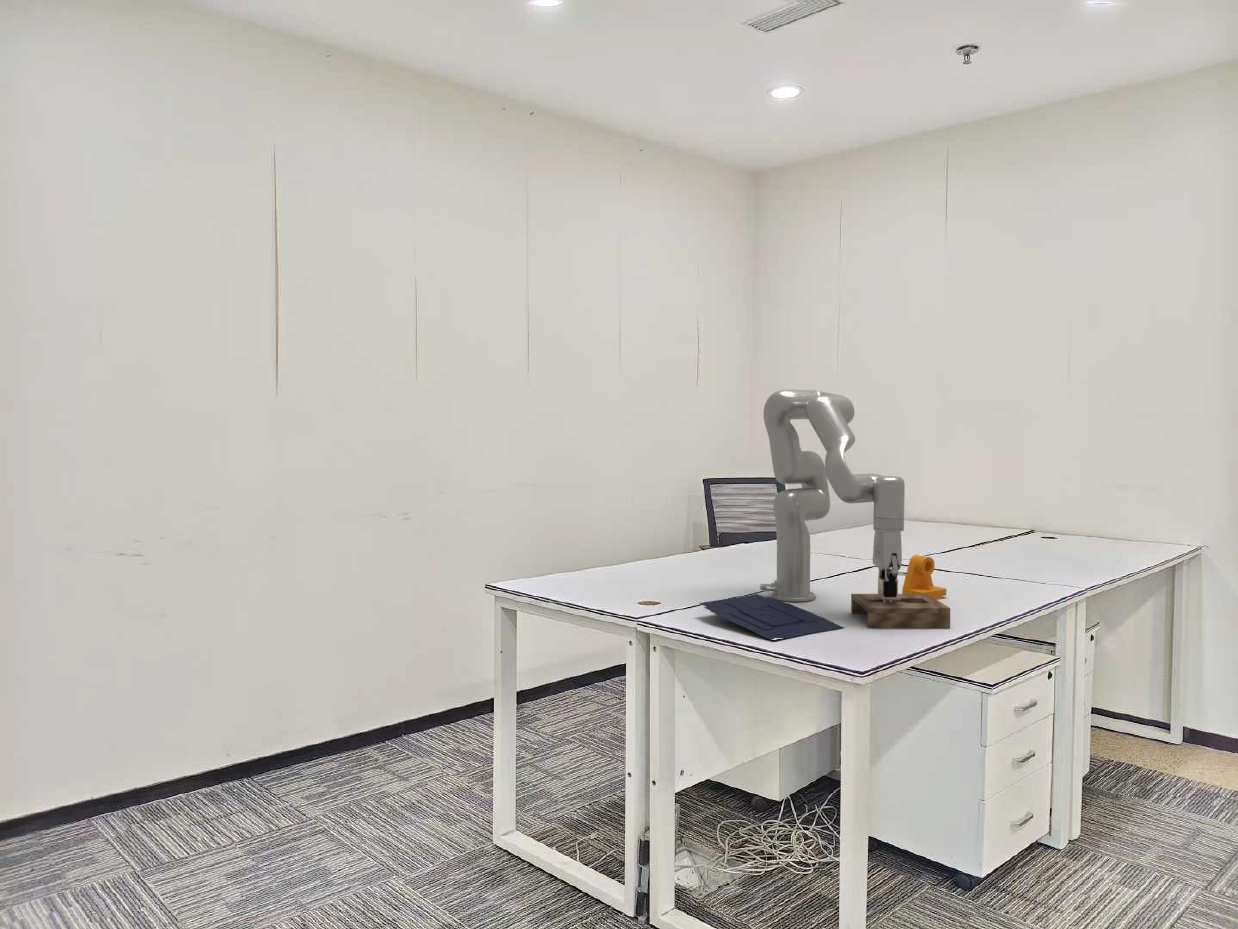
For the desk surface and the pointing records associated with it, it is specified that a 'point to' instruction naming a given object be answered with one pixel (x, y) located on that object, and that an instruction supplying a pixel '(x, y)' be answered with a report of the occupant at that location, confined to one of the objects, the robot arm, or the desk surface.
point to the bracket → (921, 578)
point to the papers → (769, 616)
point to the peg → (881, 590)
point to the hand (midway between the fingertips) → (887, 594)
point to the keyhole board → (902, 611)
